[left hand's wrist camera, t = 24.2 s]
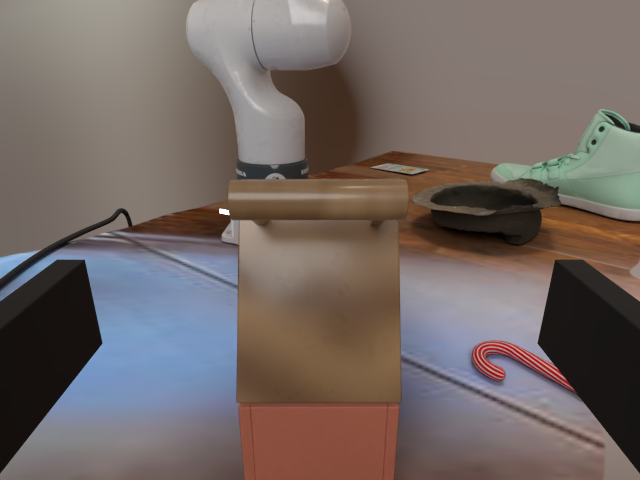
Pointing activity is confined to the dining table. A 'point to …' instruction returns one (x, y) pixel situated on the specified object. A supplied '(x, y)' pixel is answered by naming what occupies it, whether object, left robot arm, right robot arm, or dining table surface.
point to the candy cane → (517, 354)
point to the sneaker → (593, 169)
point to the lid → (318, 289)
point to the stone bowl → (491, 206)
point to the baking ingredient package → (400, 168)
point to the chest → (319, 440)
